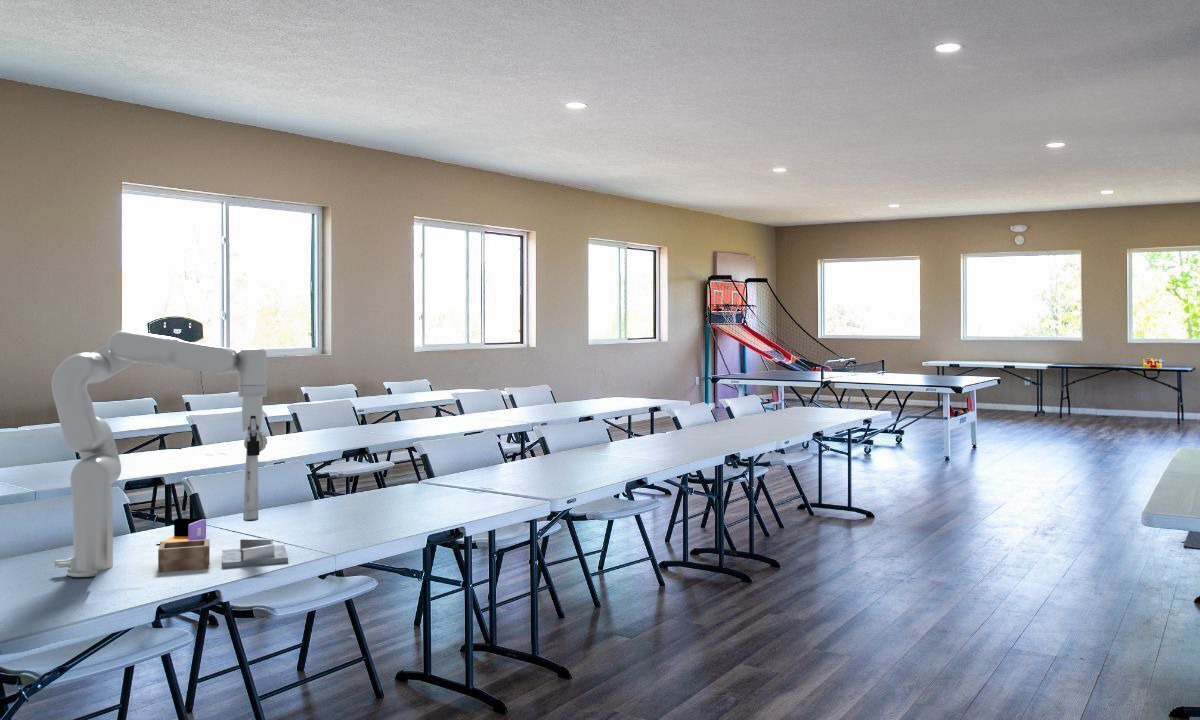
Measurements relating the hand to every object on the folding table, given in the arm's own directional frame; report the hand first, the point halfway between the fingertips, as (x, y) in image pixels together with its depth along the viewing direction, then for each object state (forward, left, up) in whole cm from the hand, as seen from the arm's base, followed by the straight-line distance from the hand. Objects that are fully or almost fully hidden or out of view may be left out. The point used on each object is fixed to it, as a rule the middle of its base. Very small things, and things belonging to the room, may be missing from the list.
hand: (252, 453), depth 257 cm
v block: (0, 0, -30) cm, 30 cm away
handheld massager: (0, 0, -19) cm, 19 cm away
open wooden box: (-18, -2, -30) cm, 35 cm away
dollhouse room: (-20, +34, -30) cm, 50 cm away
